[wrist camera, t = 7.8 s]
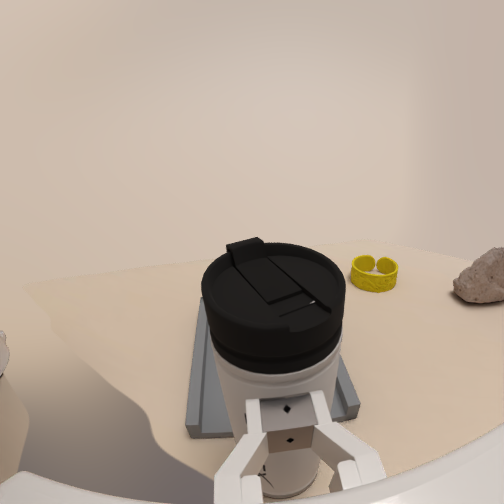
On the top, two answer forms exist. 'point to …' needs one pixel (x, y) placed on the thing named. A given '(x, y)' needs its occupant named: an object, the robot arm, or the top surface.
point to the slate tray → (212, 400)
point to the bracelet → (371, 280)
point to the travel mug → (275, 338)
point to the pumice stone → (483, 278)
